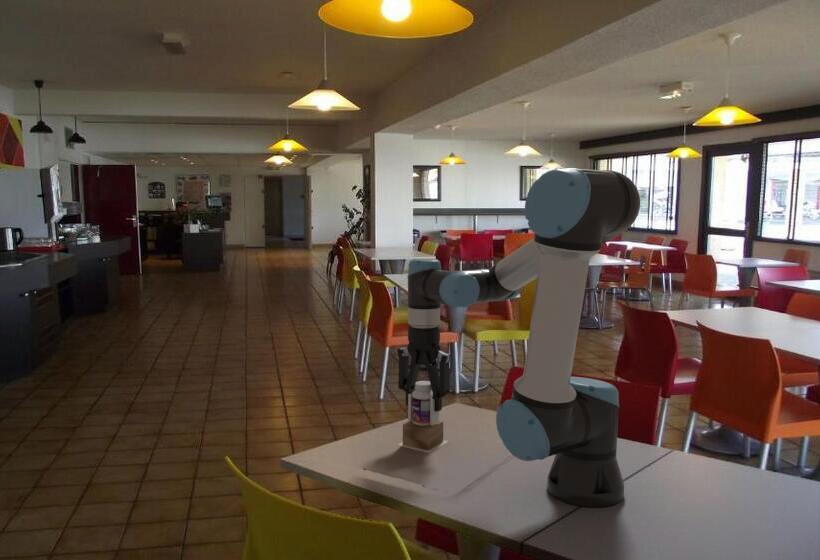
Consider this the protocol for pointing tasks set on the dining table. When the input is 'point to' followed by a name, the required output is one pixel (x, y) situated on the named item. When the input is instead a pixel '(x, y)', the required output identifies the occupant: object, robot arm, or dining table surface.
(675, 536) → the dining table surface
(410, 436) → the walnut block
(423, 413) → the pill bottle
